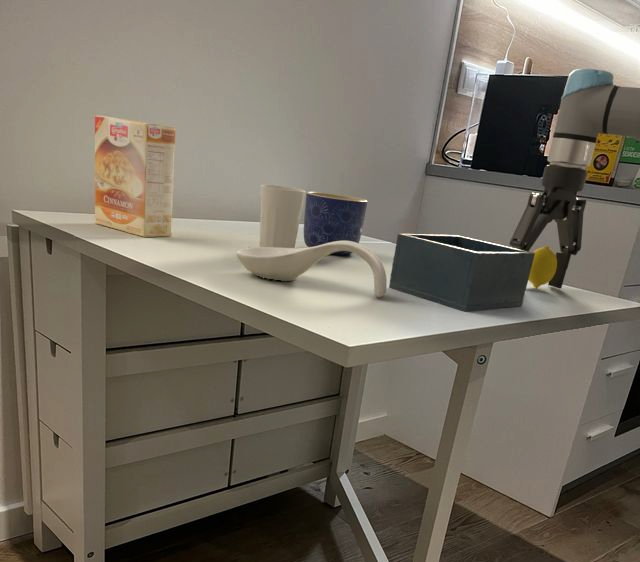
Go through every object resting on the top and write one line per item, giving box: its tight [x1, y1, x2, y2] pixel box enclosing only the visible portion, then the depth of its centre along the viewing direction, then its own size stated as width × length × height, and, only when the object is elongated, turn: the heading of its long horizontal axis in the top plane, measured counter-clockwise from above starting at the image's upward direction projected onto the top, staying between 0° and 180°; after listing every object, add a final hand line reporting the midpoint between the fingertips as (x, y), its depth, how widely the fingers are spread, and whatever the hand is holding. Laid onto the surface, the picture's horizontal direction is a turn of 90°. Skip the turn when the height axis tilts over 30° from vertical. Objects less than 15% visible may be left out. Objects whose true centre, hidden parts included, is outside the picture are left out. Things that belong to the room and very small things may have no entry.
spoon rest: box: [235, 241, 388, 298], centre depth 101 cm, size 24×12×7 cm, turn 75°
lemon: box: [528, 245, 557, 289], centre depth 127 cm, size 6×6×8 cm
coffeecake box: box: [94, 115, 177, 238], centre depth 125 cm, size 15×7×20 cm, turn 53°
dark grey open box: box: [388, 233, 535, 312], centre depth 107 cm, size 16×16×9 cm
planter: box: [303, 191, 368, 256], centre depth 135 cm, size 12×12×11 cm
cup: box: [259, 184, 306, 248], centre depth 120 cm, size 8×8×12 cm
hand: (535, 286), depth 129 cm, fingers open, 11 cm apart
